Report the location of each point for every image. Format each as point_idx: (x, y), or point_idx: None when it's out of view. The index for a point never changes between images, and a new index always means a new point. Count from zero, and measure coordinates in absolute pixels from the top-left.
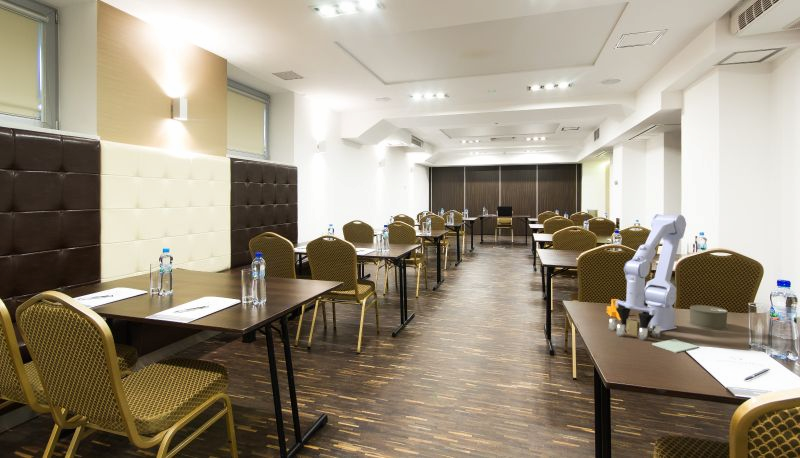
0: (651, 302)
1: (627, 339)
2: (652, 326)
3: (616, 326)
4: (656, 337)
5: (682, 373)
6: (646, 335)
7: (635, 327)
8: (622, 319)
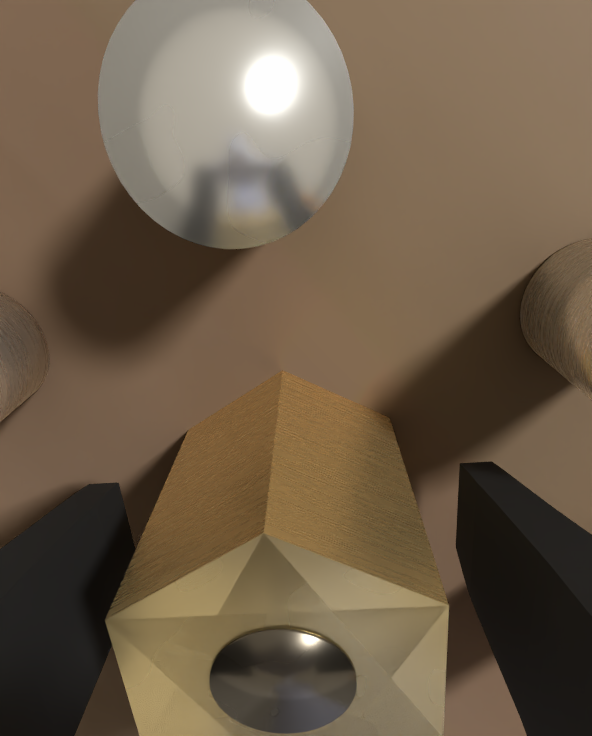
0: None
1: (13, 50)
2: None
3: (554, 359)
4: None
5: None
6: None
7: (176, 497)
8: (540, 545)
